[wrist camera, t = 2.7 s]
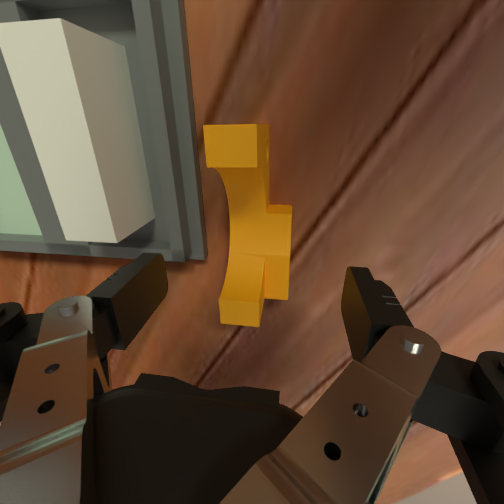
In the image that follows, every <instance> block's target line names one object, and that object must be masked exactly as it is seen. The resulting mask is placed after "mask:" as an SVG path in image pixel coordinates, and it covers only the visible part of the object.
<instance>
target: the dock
mask: <svg viewBox="0 0 504 504" xmlns="http://www.w3.org/2000/svg"><path fill="white" fill-rule="evenodd" d="M0 250H1V251H17V252H32V253H48V254H64V255H79V256H95V257H110V258H126V259H136V258H138V257H139V256H140V255H141V254H142V253H144V252H147V253H161V254H162V255H163V257H164V261H173V262H186V261H187V259H197V260H205V258H206V257H207V255H208V251H207V240H206V230H205V219H204V209H203V198H202V188H201V177H200V166H199V156H198V145H197V135H196V124H195V114H194V103H193V92H192V82H191V71H190V61H189V50H188V40H187V29H186V18H185V8H184V0H0Z"/></svg>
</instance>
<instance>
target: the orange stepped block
mask: <svg viewBox="0 0 504 504" xmlns="http://www.w3.org/2000/svg"><path fill="white" fill-rule="evenodd" d="M203 131H204V142H205V153H206V164H207V167H213V168H215V169H216V170H217V171H218V172H219V174H220V176H221V178H222V180H223V183H224V186H225V190H226V194H227V199H228V206H229V216H230V248H229V259H228V266H227V272H226V277H225V282H224V286H223V289H222V292H221V295H220V297H219V310H220V321H221V324H231V325H242V326H253V327H259V325H260V319H261V314H262V309H263V304H264V299H265V298H267V299H280V300H288V289H289V271H290V249H291V227H292V206H293V205H270V204H269V169H270V124H231V125H203Z"/></svg>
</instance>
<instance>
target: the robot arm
mask: <svg viewBox="0 0 504 504" xmlns="http://www.w3.org/2000/svg"><path fill="white" fill-rule="evenodd" d="M167 291H168V280H167V274H166V267H165V261H164V257H163V255H162V254H161V253H147V252H144V253H142V254H141V255H140V256H139V257H138V258H136V259H135V260H134V261H133V262H131V263H129V264H127V265H125V266H123V267H121V268H119V269H118V270H117V271H116V272H115V273H113V275H111V276H110V277H108V278H107V280H105V281H103V282H102V283H101V284H100V285H99V286H97V287H96V288H95V289H94V290H92V291H91V292H90V293H89V294H87V295H86V296H72V297H68V298H65V299H62V300H59V301H57V302H55V303H54V304H52V305H51V306H49V307H48V308H47V309H46V310H45V312H44V313H37V314H28V315H25V313H24V310H23V308H22V306H21V304H19V303H15V302H9V303H2V304H0V422H1V421H2V422H1V426H0V504H375V503H376V501H377V499H378V497H379V494H380V492H381V490H382V488H383V486H384V483H385V481H386V479H387V476H388V474H389V472H390V470H391V467H392V465H393V463H394V461H395V459H396V457H397V455H398V453H399V451H400V449H401V446H402V444H403V442H404V440H405V438H406V436H407V434H408V432H409V430H410V427H411V425H412V423H413V421H416V422H419V423H421V424H424V425H426V426H428V427H431V428H433V429H436V430H438V431H440V432H443V433H445V434H447V435H448V437H449V440H450V442H451V444H452V447H453V449H454V451H455V454H456V456H457V458H458V461H459V463H460V465H461V468H462V470H463V472H464V475H465V477H466V479H467V481H468V484H469V486H470V488H471V491H472V493H473V495H474V498H475V500H476V502H477V504H504V353H501V352H496V351H486V352H482V353H480V354H479V356H478V358H477V360H476V362H473V361H470V360H467V359H463V358H460V357H457V356H453V355H450V354H447V353H445V352H442V351H441V348H440V346H439V344H438V343H437V341H436V340H435V339H434V338H432V337H431V336H430V335H428V334H427V333H425V332H423V331H421V330H419V329H417V328H414V326H413V325H412V323H411V321H410V320H409V318H408V316H407V315H406V313H405V311H404V309H403V308H402V306H401V305H400V303H399V301H398V299H397V298H396V296H395V294H394V292H393V291H392V289H391V288H390V287H389V286H388V285H386V284H385V283H384V282H382V281H380V280H374V278H373V276H372V275H371V273H370V271H369V269H368V268H365V267H350V266H349V267H348V268H347V271H346V276H345V282H344V288H343V293H342V300H341V312H342V316H343V320H344V325H345V329H346V333H347V337H348V341H349V345H350V349H351V353H352V357H353V361H352V362H351V363H350V364H349V365H348V366H347V367H346V368H345V369H344V371H343V372H342V373H341V374H340V375H339V376H338V377H337V379H336V380H335V381H334V382H333V383H332V384H331V386H330V387H329V388H328V389H327V390H326V391H325V393H324V394H323V395H322V396H321V397H320V398H319V400H318V401H317V402H316V403H315V404H314V405H313V407H312V408H311V409H310V410H309V411H308V412H307V414H306V415H305V416H304V417H302V416H301V415H300V414H298V413H297V412H295V411H294V410H292V409H290V408H288V407H287V406H284V405H282V404H280V403H279V393H280V391H275V390H267V389H260V388H252V387H244V386H243V387H233V388H223V389H214V390H203V389H201V388H198V387H196V386H193V385H191V384H189V383H186V382H184V381H181V380H179V379H176V378H174V377H168V376H160V375H152V374H145V373H141V374H140V376H139V378H138V379H137V381H136V382H135V384H134V385H129V386H124V387H120V388H117V389H114V390H112V379H111V368H110V359H109V355H108V352H109V351H110V350H111V349H119V350H125V349H126V348H127V347H128V345H129V344H130V343H131V341H132V340H133V339H134V338H135V336H136V335H137V334H138V332H139V331H140V330H141V328H142V327H143V326H144V324H145V323H146V322H147V320H148V319H149V318H150V316H151V315H152V314H153V313H154V311H155V310H156V309H157V307H158V306H159V305H160V303H161V302H162V301H163V299H164V298H165V297H166V294H167Z"/></svg>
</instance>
